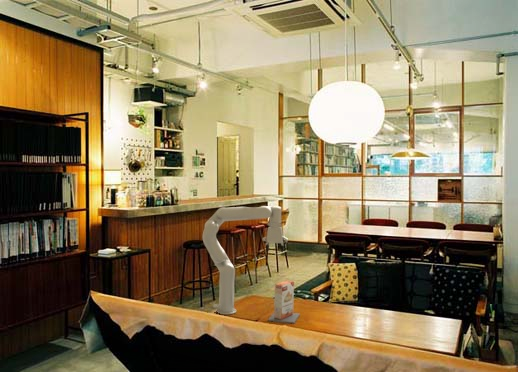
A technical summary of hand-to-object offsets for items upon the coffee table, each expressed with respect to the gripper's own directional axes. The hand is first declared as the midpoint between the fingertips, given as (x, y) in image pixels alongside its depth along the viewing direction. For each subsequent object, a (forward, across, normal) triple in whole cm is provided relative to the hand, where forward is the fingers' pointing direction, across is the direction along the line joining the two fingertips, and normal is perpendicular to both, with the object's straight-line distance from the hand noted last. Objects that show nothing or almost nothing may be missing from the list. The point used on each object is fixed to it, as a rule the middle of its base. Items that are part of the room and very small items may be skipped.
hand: (274, 251), depth 285 cm
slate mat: (+38, +10, -15) cm, 42 cm away
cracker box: (+38, +10, -15) cm, 42 cm away
